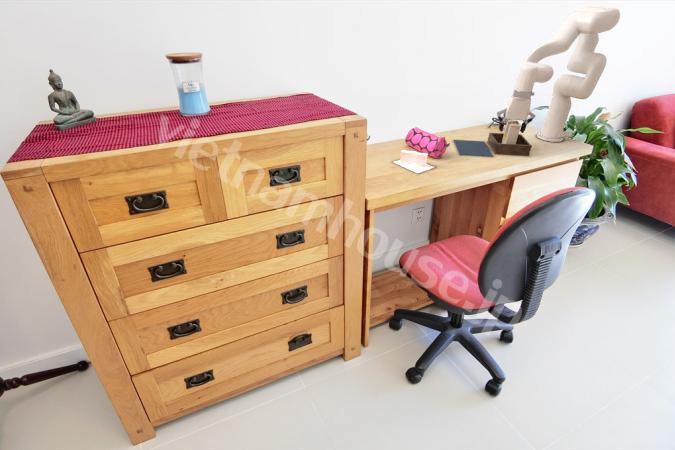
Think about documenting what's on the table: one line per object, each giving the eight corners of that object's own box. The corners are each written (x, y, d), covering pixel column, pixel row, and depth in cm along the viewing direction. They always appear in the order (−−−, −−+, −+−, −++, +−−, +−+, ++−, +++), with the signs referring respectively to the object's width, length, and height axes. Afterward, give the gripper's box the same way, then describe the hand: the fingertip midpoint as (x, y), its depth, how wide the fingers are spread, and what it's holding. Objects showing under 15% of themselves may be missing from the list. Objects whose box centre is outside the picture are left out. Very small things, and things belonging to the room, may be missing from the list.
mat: (483, 142, 190) (483, 141, 190) (492, 156, 173) (493, 156, 173) (453, 140, 191) (454, 139, 191) (460, 155, 174) (460, 154, 174)
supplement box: (513, 152, 178) (521, 125, 171) (503, 151, 179) (510, 124, 172) (510, 146, 185) (517, 120, 178) (500, 145, 186) (507, 119, 179)
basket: (518, 143, 188) (521, 134, 186) (528, 156, 174) (532, 145, 172) (487, 142, 190) (489, 132, 187) (494, 154, 176) (497, 144, 173)
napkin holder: (392, 162, 166) (393, 150, 163) (409, 156, 172) (411, 144, 169) (418, 173, 156) (419, 160, 153) (435, 167, 162) (437, 154, 159)
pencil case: (448, 156, 173) (452, 135, 167) (434, 160, 168) (437, 139, 162) (415, 142, 187) (418, 123, 182) (401, 146, 182) (403, 126, 177)
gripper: (538, 93, 171) (527, 130, 180) (500, 91, 172) (490, 127, 181) (544, 97, 164) (532, 135, 173) (504, 95, 166) (494, 132, 175)
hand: (511, 131), depth 177 cm, fingers open, 9 cm apart
